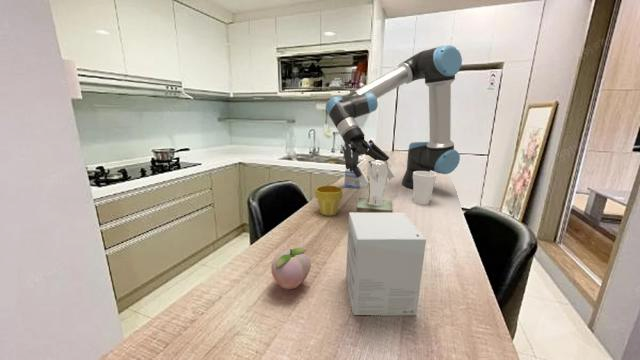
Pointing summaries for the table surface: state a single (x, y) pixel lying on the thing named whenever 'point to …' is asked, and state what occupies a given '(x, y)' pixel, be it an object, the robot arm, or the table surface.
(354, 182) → the medicine box
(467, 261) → the table surface
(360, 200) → the green box
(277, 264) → the decorative fruit
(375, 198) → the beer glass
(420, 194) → the foam cup
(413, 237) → the supplement box
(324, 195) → the plant pot
